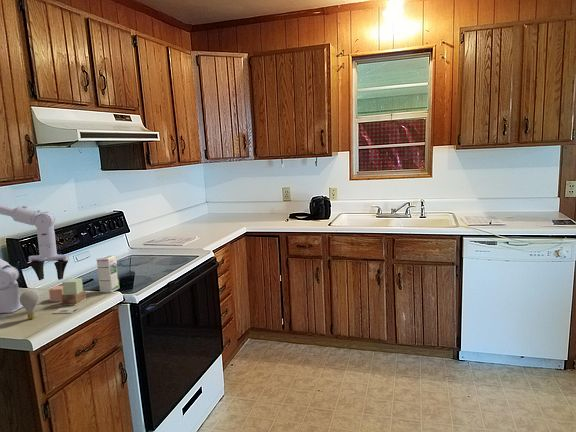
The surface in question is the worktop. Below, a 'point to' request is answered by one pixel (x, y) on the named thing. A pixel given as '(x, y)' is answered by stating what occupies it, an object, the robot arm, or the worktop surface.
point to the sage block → (72, 286)
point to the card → (63, 310)
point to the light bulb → (29, 302)
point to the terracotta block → (56, 293)
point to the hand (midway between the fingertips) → (51, 279)
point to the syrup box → (108, 273)
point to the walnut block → (73, 298)
